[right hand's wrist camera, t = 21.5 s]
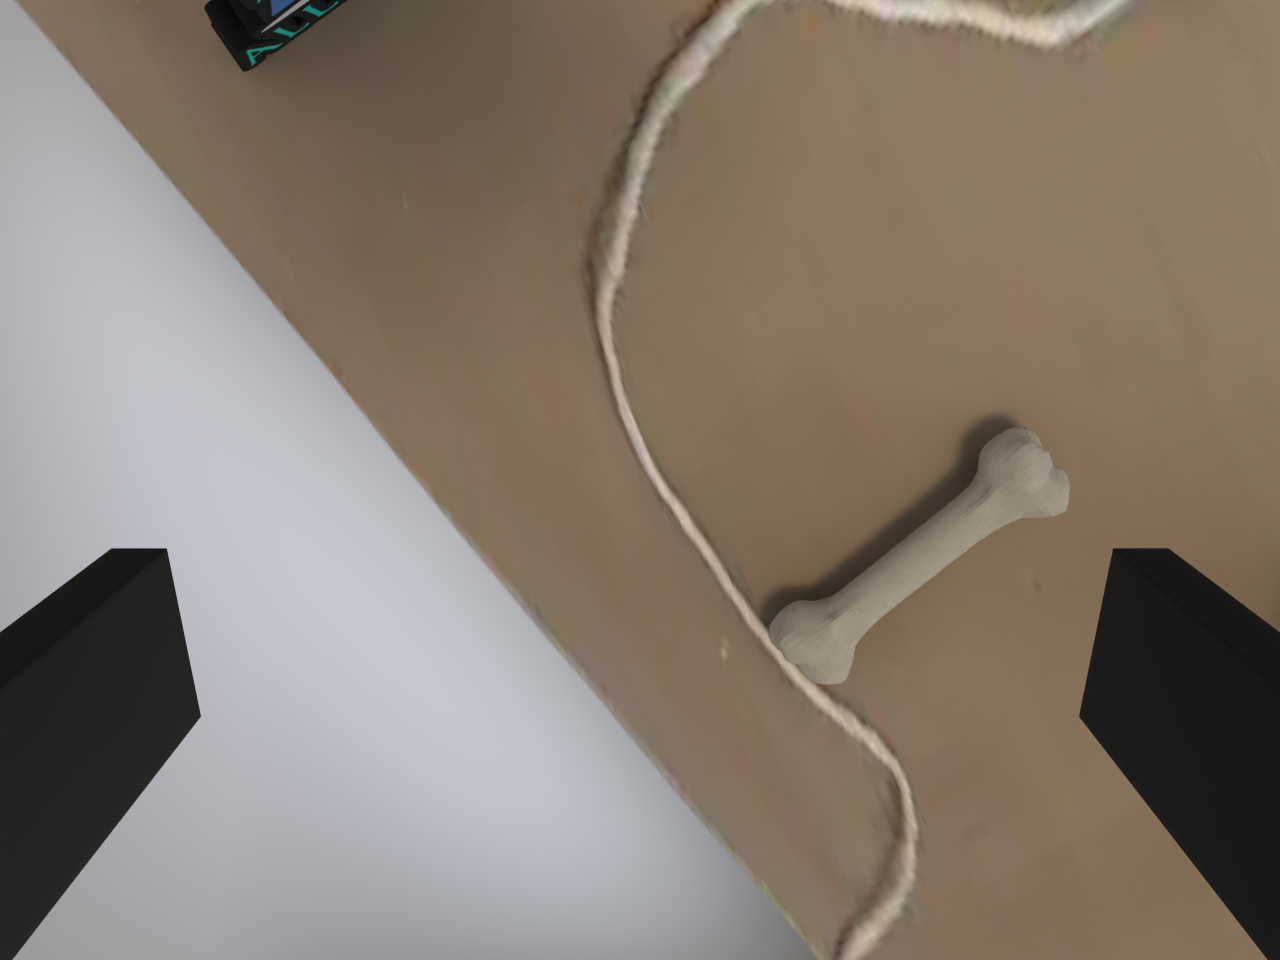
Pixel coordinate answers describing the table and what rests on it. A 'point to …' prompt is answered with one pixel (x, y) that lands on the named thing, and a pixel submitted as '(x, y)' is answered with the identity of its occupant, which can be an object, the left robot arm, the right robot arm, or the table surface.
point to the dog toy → (923, 554)
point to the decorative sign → (263, 24)
